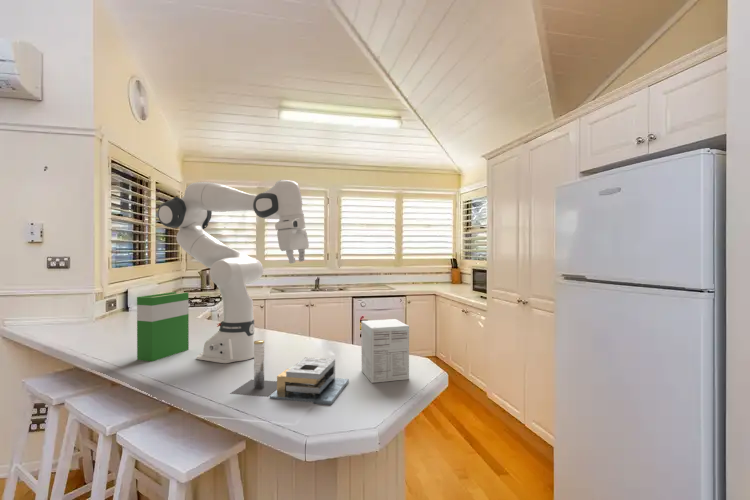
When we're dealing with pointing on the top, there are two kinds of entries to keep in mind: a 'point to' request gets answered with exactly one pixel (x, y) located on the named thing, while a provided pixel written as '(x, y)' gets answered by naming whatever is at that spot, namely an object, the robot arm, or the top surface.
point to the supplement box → (385, 350)
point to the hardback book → (162, 325)
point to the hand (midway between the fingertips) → (297, 262)
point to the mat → (249, 389)
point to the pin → (259, 364)
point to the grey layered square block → (310, 382)
